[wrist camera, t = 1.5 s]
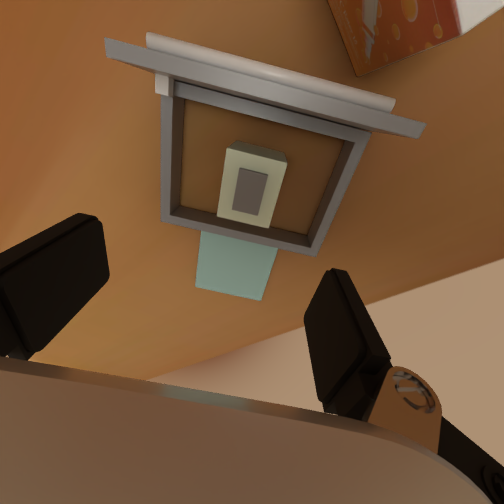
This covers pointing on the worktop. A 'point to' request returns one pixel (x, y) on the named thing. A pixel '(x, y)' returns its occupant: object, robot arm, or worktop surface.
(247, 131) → the worktop surface
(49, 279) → the robot arm
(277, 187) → the block
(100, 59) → the worktop surface
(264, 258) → the mat
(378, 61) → the small box
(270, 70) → the grey open box
